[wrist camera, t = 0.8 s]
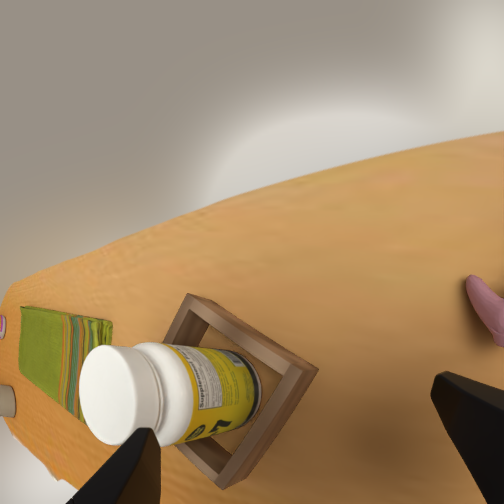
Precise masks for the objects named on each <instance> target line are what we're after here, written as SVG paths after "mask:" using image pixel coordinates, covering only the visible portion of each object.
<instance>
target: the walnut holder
mask: <svg viewBox="0 0 504 504" xmlns="http://www.w3.org/2000/svg"><path fill="white" fill-rule="evenodd" d="M209 324H210V325H211V326H213V327H214V328H216V329H217V330H218V331H220V332H221V333H222V334H224V335H225V336H226V337H228V338H229V339H231V340H232V341H233V342H235V343H236V344H238V345H239V346H240V347H242V348H243V349H245V350H246V351H247V352H249V353H250V354H252V355H253V356H255V357H256V358H258V359H259V360H260V361H262V362H263V363H265V364H266V365H268V366H269V367H271V368H272V369H274V370H275V371H277V372H278V373H280V374H281V375H283V378H282V379H281V381H280V383H279V384H278V386H277V388H276V389H275V391H274V393H273V394H272V396H271V397H270V399H269V401H268V402H267V404H266V405H265V407H264V409H263V410H262V412H261V413H260V415H259V417H258V418H257V420H256V421H255V423H254V424H253V426H252V427H251V429H250V430H249V432H248V433H247V435H246V436H245V438H244V439H243V441H242V442H241V444H240V445H239V447H238V448H237V450H236V451H235V453H234V454H233V456H232V455H231V454H229V453H228V452H227V451H226V450H225V449H223V448H222V447H221V446H220V445H219V444H218V443H217V442H215V441H214V440H213V439H212V438H211V437H210V436H208V437H204V438H200V439H196V440H192V441H188V442H184V443H180V444H175V446H176V447H177V448H178V449H179V450H180V451H181V452H182V453H183V454H184V455H185V456H186V457H187V458H188V459H189V460H190V461H191V462H192V463H193V464H194V465H195V466H196V467H197V468H198V469H199V470H200V471H202V472H203V473H204V474H205V475H206V476H207V477H208V478H209V479H210V480H211V481H213V482H214V483H215V484H216V485H217V486H218V487H219V488H221V489H222V490H224V489H226V488H228V487H230V486H232V485H234V484H236V483H238V482H240V481H242V480H243V479H245V478H246V477H247V476H248V475H249V473H250V472H251V471H252V469H253V468H254V467H255V465H256V464H257V463H258V461H259V460H260V459H261V457H262V456H263V455H264V453H265V452H266V450H267V449H268V448H269V446H270V445H271V443H272V442H273V440H274V439H275V438H276V436H277V435H278V433H279V432H280V430H281V429H282V427H283V426H284V424H285V423H286V421H287V420H288V418H289V417H290V415H291V414H292V412H293V411H294V409H295V408H296V406H297V404H298V403H299V401H300V400H301V398H302V396H303V395H304V393H305V392H306V390H307V388H308V387H309V385H310V383H311V382H312V380H313V379H314V377H315V375H316V373H317V372H318V370H319V369H318V368H316V367H315V366H313V365H311V364H310V363H308V362H306V361H305V360H303V359H302V358H300V357H298V356H297V355H295V354H293V353H292V352H290V351H289V350H287V349H285V348H284V347H282V346H281V345H279V344H277V343H276V342H274V341H273V340H271V339H269V338H268V337H266V336H265V335H263V334H262V333H260V332H259V331H257V330H255V329H254V328H252V327H251V326H249V325H248V324H246V323H245V322H243V321H242V320H240V319H239V318H237V317H236V316H234V315H233V314H231V313H230V312H228V311H227V310H225V309H224V308H222V307H221V306H219V305H218V304H216V303H215V302H213V301H212V300H209V299H205V298H202V297H199V296H196V295H192V294H189V293H187V294H186V296H185V298H184V300H183V302H182V304H181V306H180V308H179V310H178V312H177V314H176V316H175V318H174V320H173V322H172V324H171V326H170V328H169V330H168V333H167V335H166V337H165V339H164V341H163V343H164V344H172V345H180V346H190V347H198V345H199V343H200V341H201V339H202V337H203V335H204V333H205V331H206V329H207V327H208V325H209Z"/></svg>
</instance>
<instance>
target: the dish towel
mask: <svg viewBox="0 0 504 504" xmlns="http://www.w3.org/2000/svg"><path fill="white" fill-rule="evenodd" d="M20 310H21V315H22V316H21V334H20V341H19V359H18V361H19V370H20V372H21V373H22V374H23V375H24V376H25V377H26V378H27V379H29V380H30V381H31V382H32V383H34V384H35V385H36V386H37V387H39V388H40V389H41V390H42V391H44V392H45V393H46V394H47V395H48V396H50V397H51V398H53V399H54V400H55V401H56V402H57V403H58V404H60V405H61V406H62V407H64V408H65V409H66V410H67V411H69V412H70V413H71V414H73V415H74V416H75V417H76V418H78V419H79V420H80V421H82V422H83V423H84V424H86V425H87V423H86V421H85V418H84V416H83V412H82V408H81V404H80V397H79V380H80V374H81V370H82V366H83V363H84V361H85V359H86V357H87V356H88V354H89V353H90V352H91V351H92V350H93V349H94V348H96V347H98V346H100V345H111V340H112V328H113V325H112V322H111V321H106V320H102V319H97V318H91V317H87V316H80V315H74V314H69V313H65V312H59V311H54V310H48V309H43V308H37V307H30V306H25V307H22V306H20ZM87 426H88V425H87Z"/></svg>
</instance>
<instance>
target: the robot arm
mask: <svg viewBox="0 0 504 504" xmlns="http://www.w3.org/2000/svg"><path fill="white" fill-rule="evenodd" d="M431 399H432V401H433V404H434V406H435V408H436V410H437V412H438V414H439V416H440V418H441V421H442V423H443V425H444V427H445V429H446V431H447V433H448V435H449V437H450V438H451V440H452V442H453V443H454V445H455V447H456V448H457V450H458V452H459V453H460V455H461V457H462V459H463V460H464V462H465V464H466V466H467V467H468V469H469V471H470V473H471V475H472V476H473V478H474V480H475V482H476V484H477V485H478V487H479V489H480V491H481V493H482V495H483V497H484V498H485V500H486V502H487V504H504V390H501V389H498V388H495V387H492V386H489V385H486V384H483V383H480V382H477V381H474V380H471V379H468V378H465V377H463V376H460V375H457V374H454V373H451V372H449V371H444V372H442V373H439V374H437V375H436V376H435V379H434V383H433V386H432V390H431ZM160 495H161V449H160V444H159V442H158V440H157V438H156V435H155V433H154V431H153V429H152V428H150V427H139V428H137V429H136V430H135V431H134V432H133V433H132V434H131V435H130V437H129V438H128V439H127V440H126V441H125V442H124V443H123V444H122V445H121V446H120V447H119V448H118V449H117V451H116V452H115V453H114V454H113V455H112V456H111V457H110V458H109V459H108V460H107V461H106V462H105V463H104V464H103V465H102V467H101V468H100V469H99V470H98V471H97V472H96V473H95V474H94V475H93V476H92V477H91V478H90V479H89V480H88V481H87V482H86V483H85V484H84V485H83V486H82V487H81V488H80V490H79V491H78V492H77V493H76V494H75V495H74V496H73V497H72V498H73V499H72V498H71V499H70V500H69V501H68V502H67V503H66V504H160Z"/></svg>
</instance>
